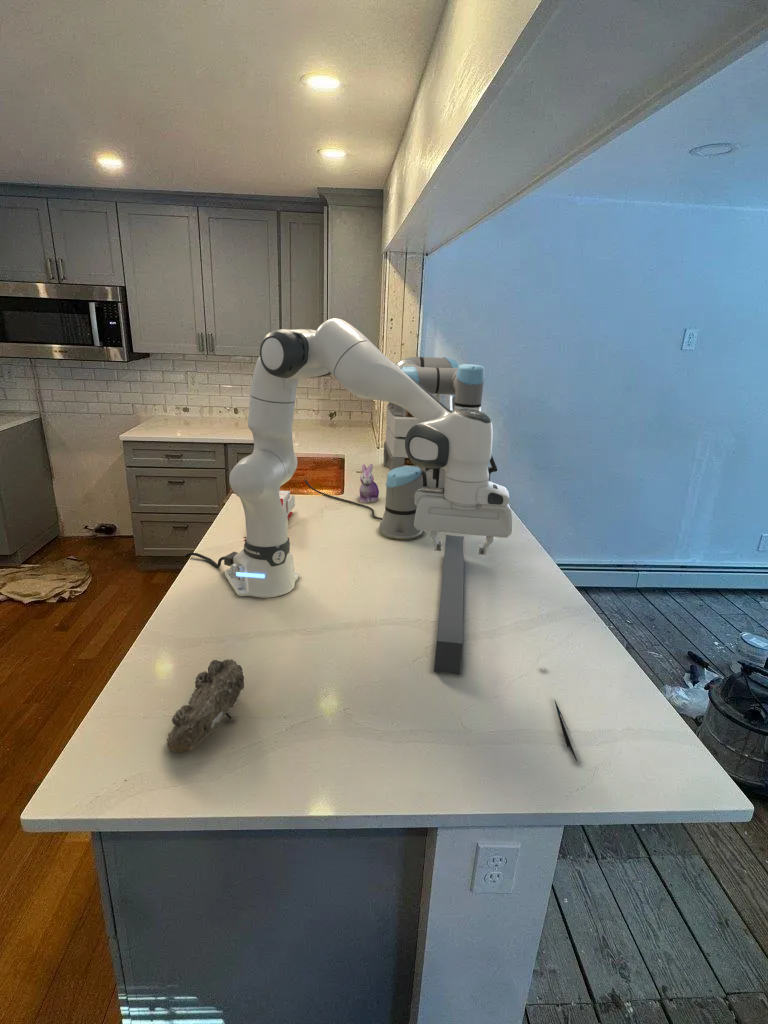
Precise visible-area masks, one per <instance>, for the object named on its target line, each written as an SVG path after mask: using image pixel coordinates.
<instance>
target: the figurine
mask: <svg viewBox="0 0 768 1024" xmlns="http://www.w3.org/2000/svg"><path fill="white" fill-rule="evenodd" d="M373 467H374V464H373V463H370V464H369V465H368V467H367V466H366V465H365V464H362V465H361V472H362V473H361V475H360V478H359V480H360V483H361V484H360V486H359V490H358V491H359V496H358V500H359V503H365V504H369V503H374V502H377V501H378V500H379V495H380V489H379V486H378V484H377V483H376V482H375V481H374V480H375V477H374V475H373V473H372V471H373Z"/></svg>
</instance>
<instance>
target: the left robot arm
mask: <svg viewBox="0 0 768 1024" xmlns="http://www.w3.org/2000/svg"><path fill="white" fill-rule="evenodd" d="M395 364H396V363H394V362H392V361H391V360H390V359H389V358H388V357H387V356H386V355H385V354H384V353H383V352H382V351H380V350H379V349H378V348H377V346H376V345H375V344H374V343H373V342H371V340H369V338H367V337H366V335H364V334H363V333H362V332H361V331H360V330H358V328H356V327H355V326H353V325H352V324H350V323H349V322H347V321H345V320H344V319H341V318H339V317H337V318H336V317H335V318H334V317H333V318H329V319H327V320H325V321H324V322H322V323H321V324H320V325H319V326H318V327H317V329H312V328H311V329H310V328H300V329H288V328H287V329H286V328H281V329H276V330H272V331H270V332H269V333H267V334H266V335H265V336H264V337H263V338H262V340H261V343H260V347H259V357H258V358H257V360H256V363H255V365H254V370H253V374H252V379H251V384H250V393H249V404H248V414H247V415H248V416H247V427H248V428H249V429H248V430H250V431H251V433H252V438H253V439H252V440H253V451H252V453H251V454H249V455H247V456H245V457H243V458H241V459H240V460H239V461H238V462H237V463H236V464H235V465H234V466H233V468H232V469H231V471H230V473H229V477H228V478H229V479H228V482H229V486H230V488H231V491H232V492H233V493H234V494H235V495H236V497H239V499H240V502H241V505H242V508H243V511H244V518H245V519H244V520H245V533H246V536H244V537H243V540H242V541H243V542H244V544H243V549H242V550H240V551H239V552H237V551H232V552H231V553H228V554H227V555H224V556H221V557H219V558H218V561H217V563H216V561H214V560H213V559H212V558H210V557H208V556H205V555H203V554H201V553H198V552H195V551H194V552H195V553H194V552H193V551H191V552H187V553H186V554H185V555H184V558H188V557H190V556H195V557H198V558H200V559H203V560H205V561H207V562H209V563H210V564H212V565H213V566H214V567H215V568H220V567H221V565H222V561H223V564H224V566H229V567H230V568H227V569H226V570H225V571H224V577H225V578H226V580H227V582H228V583H229V584H230V586H231V587H232V589H233V590H234V592H235V593H236V595H237V596H239V597H254V598H255V597H256V598H261V599H262V598H264V599H265V598H266V599H267V598H275V597H280V596H283V595H286V594H288V593H290V592H291V591H292V590H293V589H294V588H295V585H296V582H297V580H298V579H299V574H298V573H296V571H295V562H294V554H293V553H292V552H291V542H290V537H289V522H288V521H289V519H288V514H287V511H286V509H285V508H284V507H283V506H282V503H281V500H280V495H279V491H281V487H282V486H283V485H284V484H286V483H287V482H289V481H290V480H291V478H292V477H293V476H294V474H295V472H296V471H297V469H298V463H299V462H298V457H297V455H296V453H295V450H294V442H293V423H294V413H295V405H296V397H297V388H298V383H299V382H300V381H301V379H302V380H303V379H309V378H311V379H312V378H322V377H323V378H324V377H327V376H330V375H332V376H333V377H334V378H335V379H336V381H337V382H338V383H339V384H340V385H341V386H342V387H343V388H344V389H345V390H347V391H348V392H349V393H351V394H352V395H354V396H355V397H357V398H359V399H364V400H371V401H380V402H386V403H389V402H390V403H394V404H397V405H399V406H401V407H403V408H404V409H406V410H407V411H408V412H409V413H410V414H411V415H412V416H414V417H415V418H416V419H417V420H418V421H419V422H420V423H419V424H417V425H415V426H413V427H412V428H411V429H410V430H409V431H408V433H407V435H406V439H405V450H406V453H407V456H408V458H409V459H410V460H411V462H412V463H413V464H415V465H416V466H415V467H419V468H420V469H421V468H422V469H425V468H443V469H444V470H445V484H444V488H429V487H422V488H421V489H418V490H417V491H416V492H415V495H414V503H415V505H416V506H417V509H416V514H415V520H414V526H415V528H416V529H417V530H420V531H422V532H430V534H429V536H430V539H431V541H432V542H433V543H434V548H433V551H436V552H441V551H442V543H443V541H442V540H439V539H438V538H437V535H438V533H445V534H455V535H466V536H467V535H468V536H478V537H479V536H481V537H485V541H484V543H483V544H482V543H481V544H480V543H479V545H478V548H479V549H478V555H480V556H486V555H487V549H488V548H489V547H490V546H491V544H492V543H493V542H494V538H503V539H504V538H505V539H506V538H507V539H508V538H509V537H510V536H511V535H512V533H513V515H512V514H513V513H512V509H511V506H510V493H509V489H507V488H506V486H503V485H501V484H498V483H495V482H493V481H489V472H488V466H489V465H490V459H491V455H492V456H493V442H494V441H493V440H494V437H493V436H494V434H493V431H494V429H493V428H494V427H493V423H492V420H491V417H490V416H488V414H487V413H485V412H483V411H482V410H481V411H478V410H474V409H468V408H459V409H456V410H454V411H451V410H450V409H448V408H447V407H445V406H444V405H443V404H442V403H441V402H440V401H438V400H437V399H436V398H435V397H434V396H433V395H431V394H430V393H429V392H428V391H427V390H426V389H425V388H423V387H422V386H421V385H420V384H419V383H418V382H416V381H415V380H414V379H413V378H411V377H410V376H409V375H407V374H406V373H405V372H404V371H402V370H401V369H400V368H399V367H397V366H396V365H395ZM421 490H422V491H421ZM443 493H444V494H443Z"/></svg>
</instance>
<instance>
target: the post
mask: <svg viewBox="0 0 768 1024" xmlns="http://www.w3.org/2000/svg"><path fill="white" fill-rule="evenodd" d="M464 537H465V536H464V535H452V534H446V535H445V542H444V552H443V564H442V575H441V585H440V586H441V587H440V597H439V598H440V599H439V610H438V618H437V619H438V621H437V631H436V633H437V634H436V641H435V642H436V643H435V652H434V653H435V654H434V665H433V672H434V673H442V674H443V673H444V674H450V675H460V673H461V664H462V653H463V642H464V553H465V552H464V549H465V548H464V547H465V542H464V541H465V539H464Z"/></svg>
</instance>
